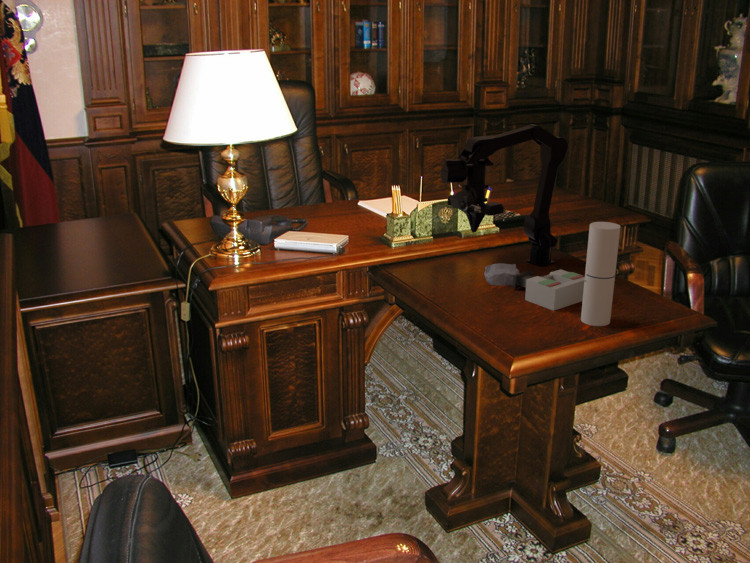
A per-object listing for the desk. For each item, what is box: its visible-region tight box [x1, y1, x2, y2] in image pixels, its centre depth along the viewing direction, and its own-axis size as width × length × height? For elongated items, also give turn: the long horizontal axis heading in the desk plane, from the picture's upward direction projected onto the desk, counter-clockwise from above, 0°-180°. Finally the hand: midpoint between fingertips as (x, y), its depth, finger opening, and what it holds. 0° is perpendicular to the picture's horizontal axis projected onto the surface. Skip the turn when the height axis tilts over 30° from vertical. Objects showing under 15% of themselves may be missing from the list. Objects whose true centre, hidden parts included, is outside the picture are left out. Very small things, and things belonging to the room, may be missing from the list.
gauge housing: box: [524, 269, 585, 312], centre depth 200 cm, size 14×10×6 cm
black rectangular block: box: [512, 270, 552, 290], centre depth 206 cm, size 7×9×5 cm
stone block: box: [484, 262, 520, 287], centre depth 217 cm, size 12×5×10 cm
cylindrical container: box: [580, 221, 621, 327], centre depth 183 cm, size 7×7×25 cm
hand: (473, 232), depth 222 cm, fingers closed
